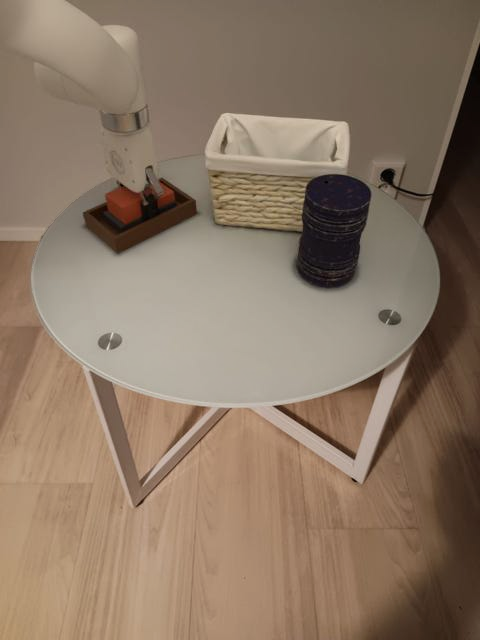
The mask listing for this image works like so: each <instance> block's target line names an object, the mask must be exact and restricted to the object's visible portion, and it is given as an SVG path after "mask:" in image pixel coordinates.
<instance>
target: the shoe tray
mask: <svg viewBox="0 0 480 640" xmlns="http://www.w3.org/2000/svg"><path fill="white" fill-rule="evenodd" d="M159 182H160V183H162V184H163V185H165V186H166V187H168V188H169V189H171V190H172V191H173V192H174V196H175V201H176V204H177V206H176V207H174V208H172V209H170V210H168V211H166V212H164V213H162V214H160V215H158V216H156V217H154V218H152V219H150V220H147V221H145V222H143V223H141V224H139V225H137V226H135V227H133V228H131V229H129V230H127V231H125V232H123V233H121V232H119V231H118V230H117V229H116V228H114V227H113V226H112V225H111V224H110V223H108V222H107V221H106V220H105V219H104V215H103V212H105V211H108V207H107V202H106V201H104V202H103V203H101V204H98V205H96V206H93V207H92V208H89V209H87V210H85V211H83V212H82V217H83V220H84V224H85V227H86V228H87V229H88V230H90V231H91V232H92V233H93V234H95V236H96V237H97V238H98V239H100V240H101V241H102V242H103V243H104V244H106V245H107V246H108V247H109V248H110V249H112V250H113V251H114V252H115V253H116V254H121V253H122V252H124V251H126V250H129V249H130V248H132V247H134V246H136V245H138V244H140V243H142V242H144V241H146V240H149V239H150V238H152V237H154V236H156V235H158V234H160V233H162V232H164V231H166V230H168V229H170V228H172V227H174V226H176V225H178V224H180V223H182V222H184V221H185V220H188V219H189V218H192V217H194V216H196V215H198V212H197V200H196V199H195V198H193V197H192V196H190V195H189V194H188V193H186V192H185V191H183V190H182V189H180V188H178V187H177V186H176V185H174V184H173V183H171V182H169V181H168V180H166V179H165V178H164V177H159Z"/></svg>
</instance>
